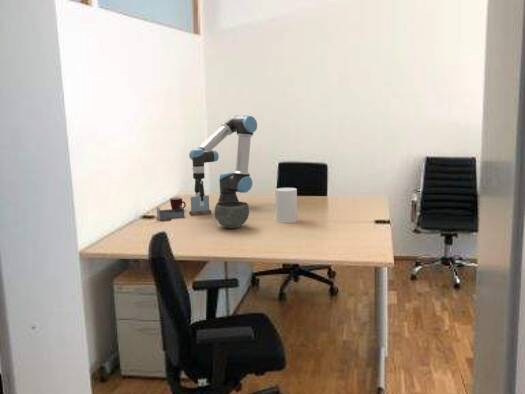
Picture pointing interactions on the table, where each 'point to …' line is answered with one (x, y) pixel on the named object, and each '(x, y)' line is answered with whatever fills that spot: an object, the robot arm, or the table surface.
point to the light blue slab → (199, 204)
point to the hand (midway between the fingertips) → (199, 204)
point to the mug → (176, 202)
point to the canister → (286, 205)
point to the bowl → (231, 213)
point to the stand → (200, 213)
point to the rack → (170, 213)
